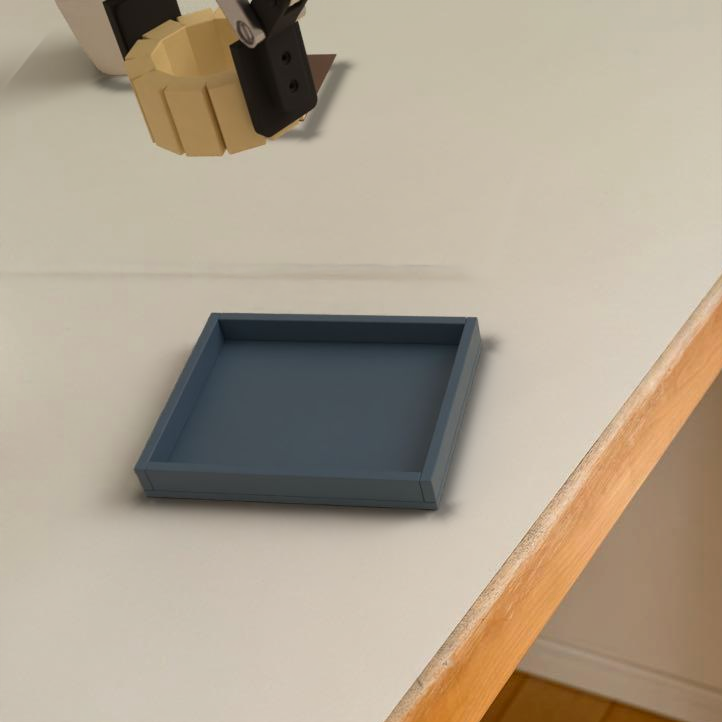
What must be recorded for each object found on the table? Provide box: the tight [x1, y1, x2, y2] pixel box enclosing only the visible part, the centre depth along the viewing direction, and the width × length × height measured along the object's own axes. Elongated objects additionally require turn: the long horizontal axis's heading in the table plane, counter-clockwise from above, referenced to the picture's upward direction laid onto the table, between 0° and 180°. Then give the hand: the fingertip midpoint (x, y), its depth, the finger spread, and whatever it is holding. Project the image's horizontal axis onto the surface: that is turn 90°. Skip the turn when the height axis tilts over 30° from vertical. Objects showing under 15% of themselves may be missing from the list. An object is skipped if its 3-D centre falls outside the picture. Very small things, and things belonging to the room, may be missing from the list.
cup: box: [54, 0, 128, 76], centre depth 90 cm, size 8×8×10 cm
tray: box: [133, 312, 483, 510], centre depth 65 cm, size 15×12×2 cm
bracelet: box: [123, 6, 308, 158], centre depth 54 cm, size 7×7×3 cm
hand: (224, 94), depth 54 cm, fingers closed on bracelet, 7 cm apart
